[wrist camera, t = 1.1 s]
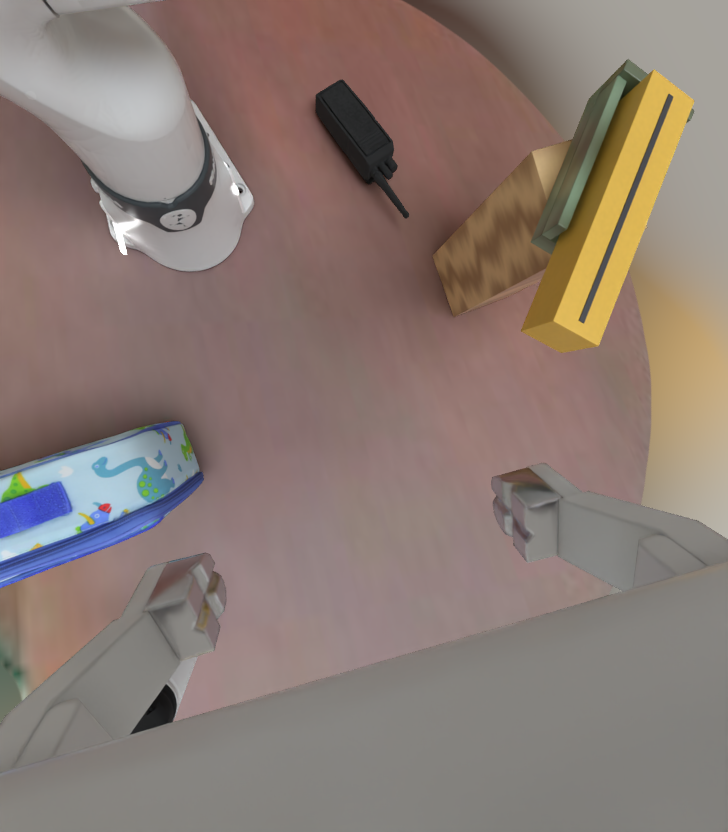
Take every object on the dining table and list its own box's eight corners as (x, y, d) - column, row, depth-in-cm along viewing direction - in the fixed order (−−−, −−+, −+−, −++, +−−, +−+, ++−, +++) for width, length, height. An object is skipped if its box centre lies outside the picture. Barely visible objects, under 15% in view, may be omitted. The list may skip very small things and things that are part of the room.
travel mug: (225, 611, 51) (184, 741, 32) (183, 641, 50) (114, 793, 31) (199, 577, 50) (141, 688, 31) (156, 606, 49) (68, 740, 30)
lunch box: (12, 557, 46) (-215, 683, 25) (-23, 479, 45) (-289, 544, 24) (216, 484, 50) (165, 540, 30) (189, 412, 49) (116, 418, 29)
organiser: (489, 339, 58) (662, 283, 31) (413, 299, 55) (530, 200, 28) (523, 255, 59) (721, 130, 32) (450, 212, 56) (598, 35, 29)
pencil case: (561, 353, 32) (599, 346, 28) (520, 331, 31) (553, 320, 27) (647, 136, 33) (695, 99, 29) (610, 109, 32) (655, 67, 28)
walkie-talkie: (352, 78, 50) (437, 196, 51) (326, 121, 54) (406, 230, 55) (328, 62, 45) (423, 192, 46) (302, 110, 49) (390, 229, 50)
